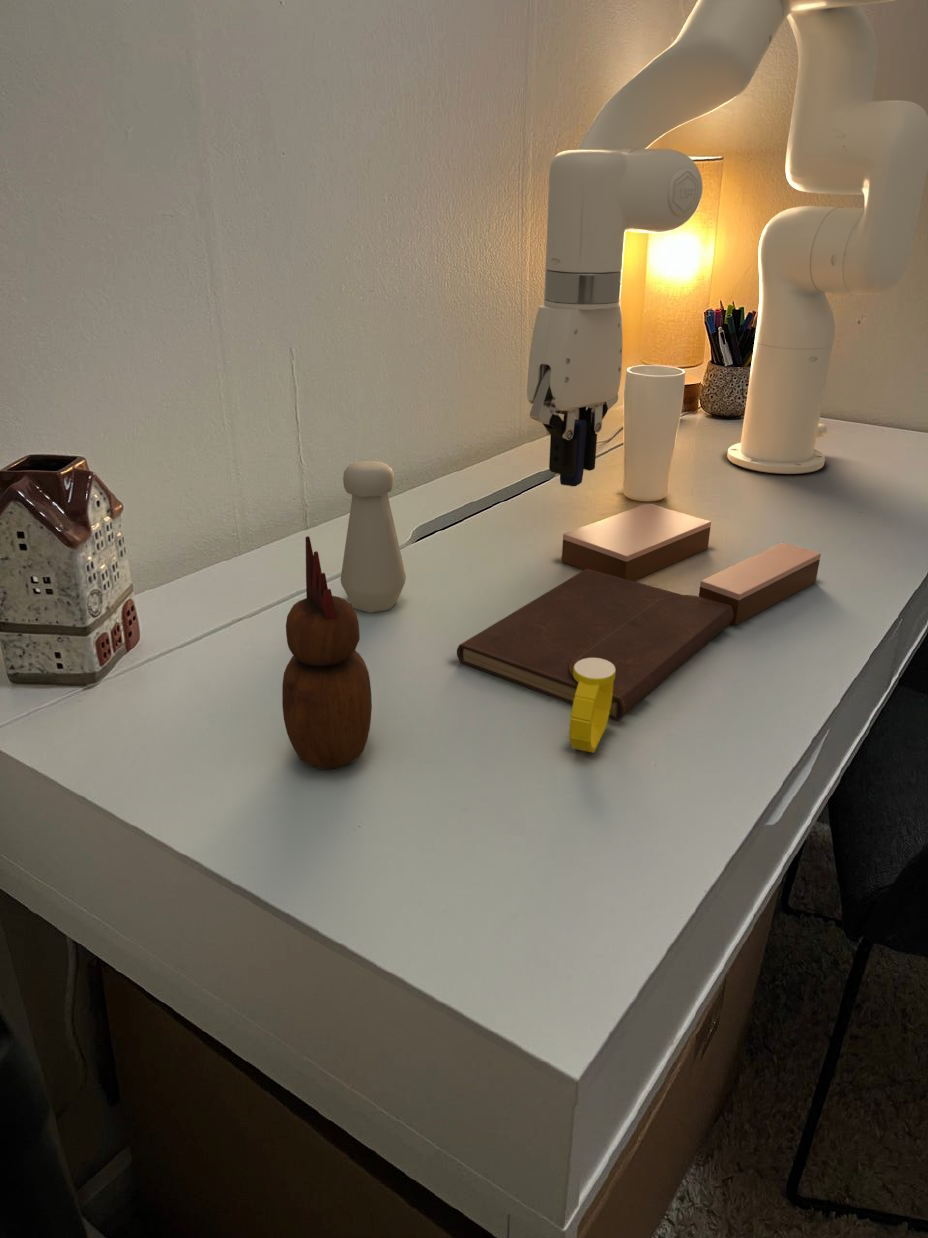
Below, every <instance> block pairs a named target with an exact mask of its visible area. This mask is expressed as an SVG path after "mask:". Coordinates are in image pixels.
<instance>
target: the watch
mask: <svg viewBox="0 0 928 1238" xmlns="http://www.w3.org/2000/svg"><path fill="white" fill-rule="evenodd" d="M615 671H616V669H615V666H614V665H613V664H612V663H611V662H609V661H607V660H604V659H601V658H586V659H582V660H580V661H578V662H577V663H576V664H575V665H574V668H573V676H574V679H575V680H576V681H577V682H579V683H578V686H577V689H576V693H575V698H574V701H573V704H572V707H571V711H570V712H571V713H570V718H569V734H568V735H569V742H570V746H571V749H574V750H578V751H583V752H587V753H592V754H594V753H596V750H597V748H598V745H599V743H600V742H601V740H602V737H603V735H604V733H605V732H606V729H607V726H608V722H609V719H610V718H609V714H610V709H611V703H612V696H613V683H614V679H615Z"/></svg>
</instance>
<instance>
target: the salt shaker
mask: <svg viewBox="0 0 928 1238" xmlns="http://www.w3.org/2000/svg"><path fill="white" fill-rule="evenodd" d="M342 476H343V477H342V483H343V488H344V490H345V492H346V493H347V494H349V495H350V496H351V502H350V509H349V516H348V523H347V531H346V537H345V545H344V551H343V552H344V553H343V560H342V567H341V574H340V584H341V587H342V588H343V591H344V592H345V594H346V596H347V598H348V600H349V603H350V605H351V606H352V607H353V608H354V610H357V611H358V610H359V611H362V612H365V613H369V614H371V613H378V612H384V611H385V612H386V611H390V610H391V609H392V608H393V607H394V605H396V603H398V600H399V599H400V596H401V593H402V591H403V589H404V586H405V584H406V579H407V575H406V572H405V565H404V561H403V557H402V553H401V548H400V544H399V539H398V535H397V529H396V527H395V522H394V521H395V520H394V516H393V512H392V507H391V504H390V503H391V502H390V499H389V493H391V492H392V490H393V489H394V486H395V474H394V470H393V469H392V468H391V467H390V466H389V465H388V464H387V463H385V462H381V461H378V460H377V461H376V460H361V461H356V462H352V463H350V464H349V465H348V466H347V467H346V468H345V469H344V470H343V475H342Z"/></svg>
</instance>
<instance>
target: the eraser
mask: <svg viewBox="0 0 928 1238" xmlns="http://www.w3.org/2000/svg"><path fill="white" fill-rule="evenodd" d="M586 429H587V424H586V421H584V420H577V419H575V424H574V434H573V437H572V438H574V439H577V452H576V468H575V474H574V476H570V477H568V476H565V475H561V474H559V482H560V483H559V484H560V485H561V486H568V487H577V486H579V485H581V484H582V483H583V477H584V472H585V471H584V470H585V469H584V455H585V442H586V433H587V430H586Z"/></svg>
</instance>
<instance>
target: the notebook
mask: <svg viewBox="0 0 928 1238" xmlns="http://www.w3.org/2000/svg"><path fill="white" fill-rule="evenodd" d="M733 616H734V613H733V609H732V606H731V605H728V604H724V603H721V602H717V601H714V600H710V599H707V598H703V597H699V595H698V596H697V595H691V594H681V593H678V592H674V591H670V590H668V589H664V588H659V587H655V586H653V585H648V584H646V583H645V584H644V583H641V582H638V581H631V580H627V579H623V578H620V577H616V576H612V575H609V574H605V573H602V572H598V571H594V570H591V569H585V570H583V569H582V571H580V572H579V573H577V574H575V575H573V576H572V577H570V578H568V579H566V580H565V581H563V582H562V583H560V584H558V585H557V586H555V587H553V588H552V589H550V590H548V591H547V592H545V593H543V594H541V595H540V596H538V597H537V598H535V599H533V600H531V601H530V602H529V603H527V604H525V605H524V606H522V607H520V608H518V609H517V610H515V611H514V612H512V613H510V614H509V615H506V616H505V617H503V618H502V619H500V620H499V621H496V622H495V623H494V624H491V625H490V626H488V627H487V628H485V629H483V630H482V631H480V632H478V633H476V634H475V635H473V636H471V637H470V638H468V639H467V640H465V641H463V642H462V643H460V644H459V645H458V647H457V648H456V657H457V659H458V662H460V663H461V664H463V665H466V666H469V667H471V668H475V669H478V670H480V671H483V672H485V673H488V674H491V675H494V676H496V677H499V678H502V679H505V680H506V681H510V682H512V683H514V684H517V685H520V686H523V687H526V688H528V689H531V690H534V691H535V692H539V693H542V694H544V695H547V696H550V697H553V698H556V699H558V700H561V701H564V702H566V703H569V704H571V705H573V701H574V698H575V693H576V689H577V686H578V683H579V682H577V681H576V680H575V679H574V676H573V668H574V665H575V664H576V663H577V662H578V661H580V660H582V659H586V658H601V659H604V660H607V661H609V662H611V663H612V664H613V665H614V666H615V669H616V671H615V679H614V683H613V696H612V703H611V709H610V714H609V718H608V719H612V720H614V721H617V722H619V721H620V720H621V719H622V718H623V717H625V716H626V715H627V714H628V713H629V712H630V711H631V710H633V709H634V708H635V707H636V706H637V705H638V704H640V703H641V702H642V701H643V700H644V699H646V697H648V696H649V695H650V694H651V693H652V692H653V691H655V690H656V689H657V688H658V687H659V686H660V685H662V683H664V682H665V681H666V680H667V679H668V678H669V677H671V676H672V675H673V674H674V673H675V672H676V671H678V669H680V668H681V667H682V666H683V665H684V664H685V663H686V662H688V661H689V660H690V659H691V658H692V657H694V656H695V655H696V654H697V653H699V651H700V650H702V648H704V647H705V646H706V645H707V644H708V643H710V642H711V641H712V640H713V639H714V638H715V637H716V636H718V635H719V634H720V633H721V632H722V631H723V630H724V629H726V628H727V627H728V626H729V625H731V624H730V622H731V621H732V619H733Z"/></svg>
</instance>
